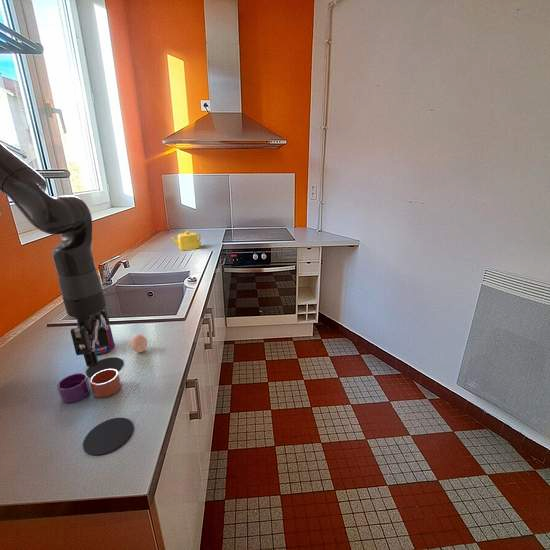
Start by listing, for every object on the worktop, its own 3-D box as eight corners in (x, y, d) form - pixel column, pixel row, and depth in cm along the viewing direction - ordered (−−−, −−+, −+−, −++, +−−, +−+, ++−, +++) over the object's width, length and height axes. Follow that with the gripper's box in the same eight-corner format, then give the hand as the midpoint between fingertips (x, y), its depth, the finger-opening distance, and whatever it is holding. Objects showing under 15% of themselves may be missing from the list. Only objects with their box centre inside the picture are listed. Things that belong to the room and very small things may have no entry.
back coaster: (80, 380, 77) (80, 379, 77) (93, 360, 86) (92, 359, 86) (118, 375, 79) (118, 374, 79) (126, 356, 88) (126, 355, 87)
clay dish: (90, 400, 71) (86, 386, 69) (98, 384, 76) (95, 370, 75) (117, 396, 72) (114, 382, 70) (124, 380, 77) (120, 367, 76)
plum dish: (56, 405, 69) (52, 391, 68) (68, 388, 75) (63, 375, 73) (85, 401, 70) (81, 387, 69) (94, 384, 76) (90, 371, 75)
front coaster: (75, 460, 56) (75, 459, 56) (92, 422, 64) (92, 421, 64) (127, 450, 58) (127, 449, 57) (137, 415, 66) (137, 414, 66)
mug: (87, 357, 87) (82, 337, 85) (93, 340, 96) (88, 321, 94) (113, 352, 90) (108, 332, 87) (117, 336, 98) (112, 317, 96)
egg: (134, 357, 87) (130, 340, 85) (130, 350, 90) (127, 334, 88) (150, 352, 89) (147, 335, 87) (146, 345, 92) (143, 329, 91)
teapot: (174, 252, 202) (171, 234, 198) (171, 248, 212) (169, 231, 209) (203, 248, 210) (201, 231, 206) (200, 244, 220) (198, 228, 216)
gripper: (76, 281, 71) (92, 341, 77) (47, 306, 58) (68, 376, 63) (110, 278, 73) (124, 337, 78) (89, 301, 59) (107, 370, 65)
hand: (99, 354), depth 71 cm, fingers open, 8 cm apart
